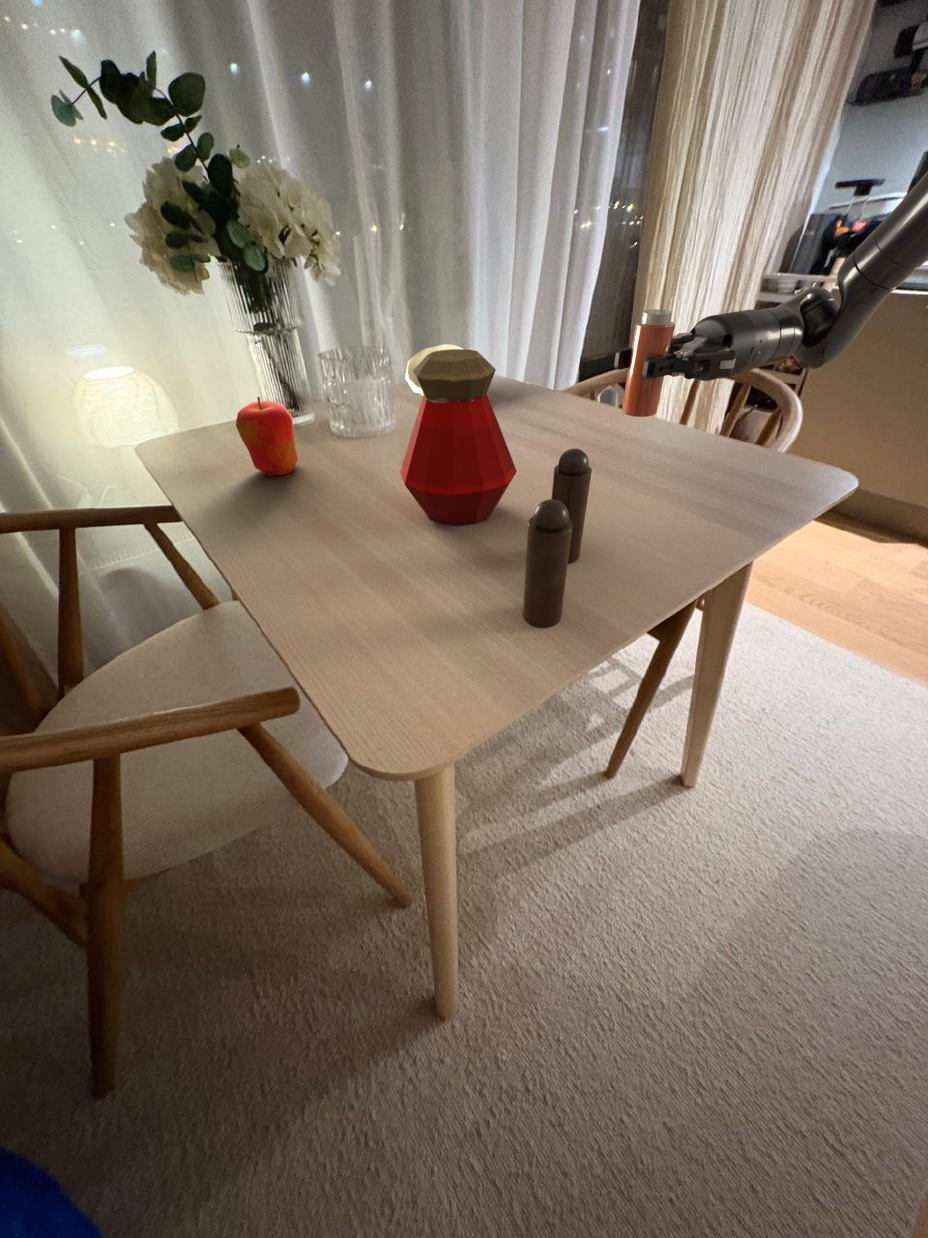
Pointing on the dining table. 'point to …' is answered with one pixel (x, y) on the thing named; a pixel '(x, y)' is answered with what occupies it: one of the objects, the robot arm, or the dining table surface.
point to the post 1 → (546, 563)
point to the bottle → (456, 441)
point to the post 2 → (573, 493)
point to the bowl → (417, 359)
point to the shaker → (647, 342)
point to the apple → (268, 436)
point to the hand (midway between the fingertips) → (631, 364)
